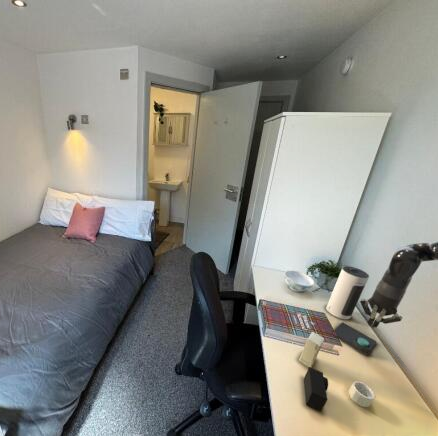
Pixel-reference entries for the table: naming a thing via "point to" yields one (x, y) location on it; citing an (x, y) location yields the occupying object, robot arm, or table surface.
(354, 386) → the white tape roll
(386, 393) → the table surface
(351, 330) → the scale
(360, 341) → the tare button
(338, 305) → the speaker
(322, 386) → the digital camera
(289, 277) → the chinaware
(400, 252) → the robot arm
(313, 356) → the cosmetic box
